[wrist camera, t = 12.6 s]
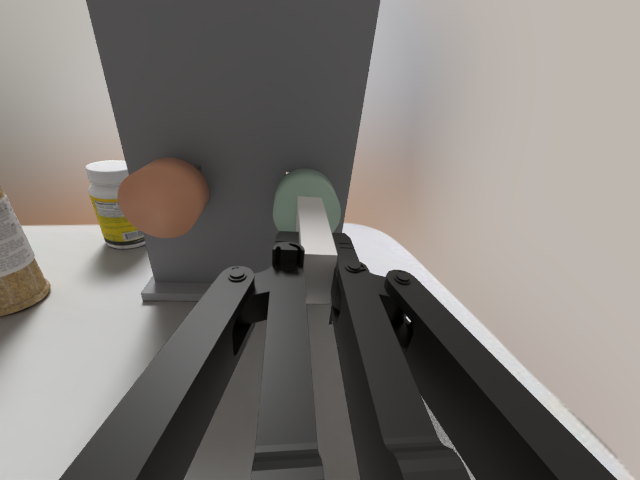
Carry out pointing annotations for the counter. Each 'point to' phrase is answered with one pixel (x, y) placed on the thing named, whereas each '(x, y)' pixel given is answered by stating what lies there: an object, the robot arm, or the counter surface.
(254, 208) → the button panel
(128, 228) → the supplement bottle
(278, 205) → the sage button
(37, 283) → the spice jar
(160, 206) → the rust button
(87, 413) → the counter surface
